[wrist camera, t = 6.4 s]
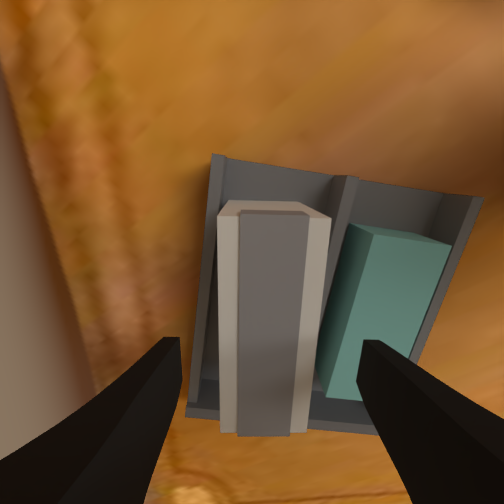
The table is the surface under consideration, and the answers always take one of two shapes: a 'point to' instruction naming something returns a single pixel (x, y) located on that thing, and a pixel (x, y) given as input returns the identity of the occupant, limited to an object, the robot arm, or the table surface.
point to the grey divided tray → (342, 213)
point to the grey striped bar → (268, 313)
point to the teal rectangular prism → (375, 300)
